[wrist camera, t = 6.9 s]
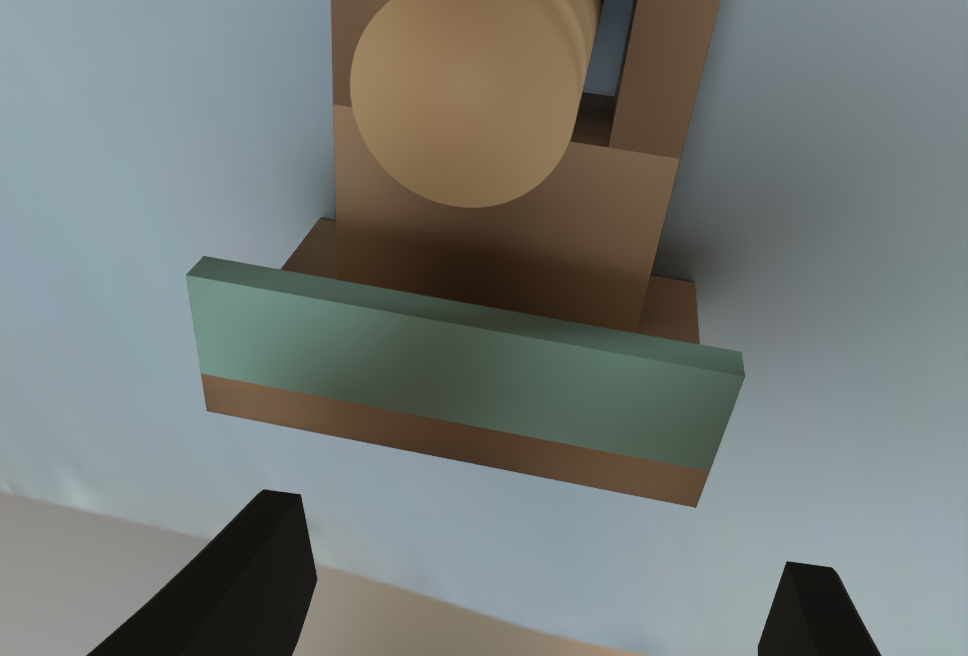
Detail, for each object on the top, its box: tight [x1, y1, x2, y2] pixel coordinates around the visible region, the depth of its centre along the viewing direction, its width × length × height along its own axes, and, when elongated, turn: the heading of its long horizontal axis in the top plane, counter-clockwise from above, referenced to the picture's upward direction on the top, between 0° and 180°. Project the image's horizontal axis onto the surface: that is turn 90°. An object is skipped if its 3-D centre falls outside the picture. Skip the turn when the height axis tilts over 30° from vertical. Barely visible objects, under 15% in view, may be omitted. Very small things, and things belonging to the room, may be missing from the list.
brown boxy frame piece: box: [186, 0, 745, 508], centre depth 15 cm, size 10×11×7 cm
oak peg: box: [350, 0, 604, 208], centre depth 13 cm, size 3×3×8 cm
